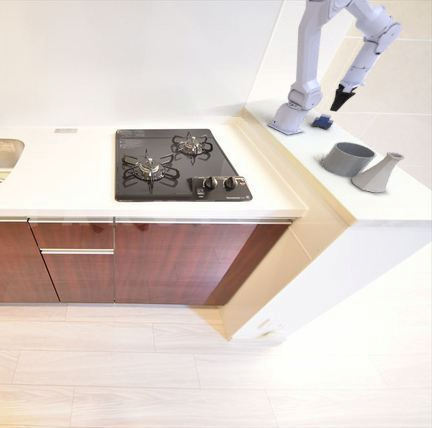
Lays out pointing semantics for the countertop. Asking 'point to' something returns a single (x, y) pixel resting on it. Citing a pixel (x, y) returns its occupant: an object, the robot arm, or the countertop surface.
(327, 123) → the toy car
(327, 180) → the countertop surface
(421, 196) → the countertop surface
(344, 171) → the steel cup
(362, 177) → the flask
